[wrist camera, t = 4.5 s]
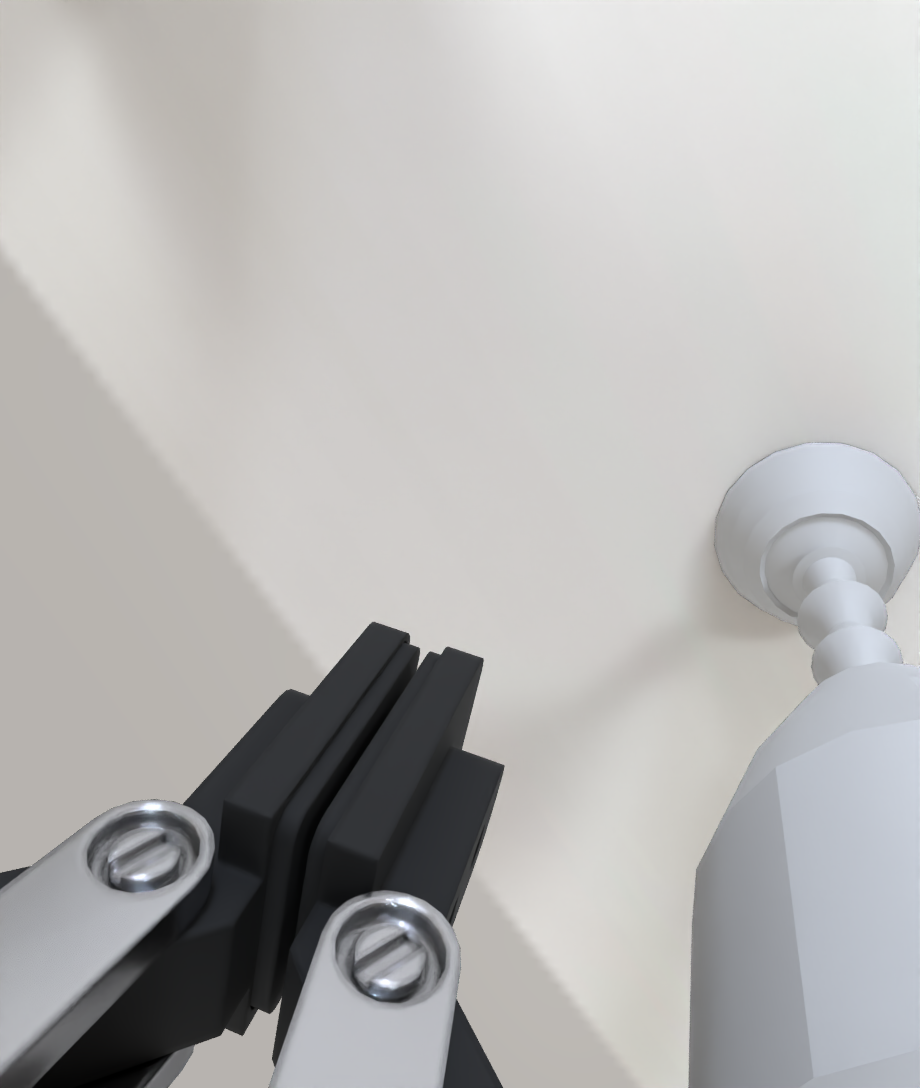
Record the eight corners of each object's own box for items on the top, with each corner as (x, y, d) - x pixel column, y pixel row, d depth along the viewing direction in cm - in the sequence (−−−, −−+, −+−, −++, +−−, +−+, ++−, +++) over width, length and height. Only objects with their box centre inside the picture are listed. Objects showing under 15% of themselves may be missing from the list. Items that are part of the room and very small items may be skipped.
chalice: (908, 680, 22) (1439, 1928, 6) (657, 628, 24) (554, 1523, 8) (1007, 421, 19) (2556, 1536, 3) (712, 379, 20) (731, 990, 5)
